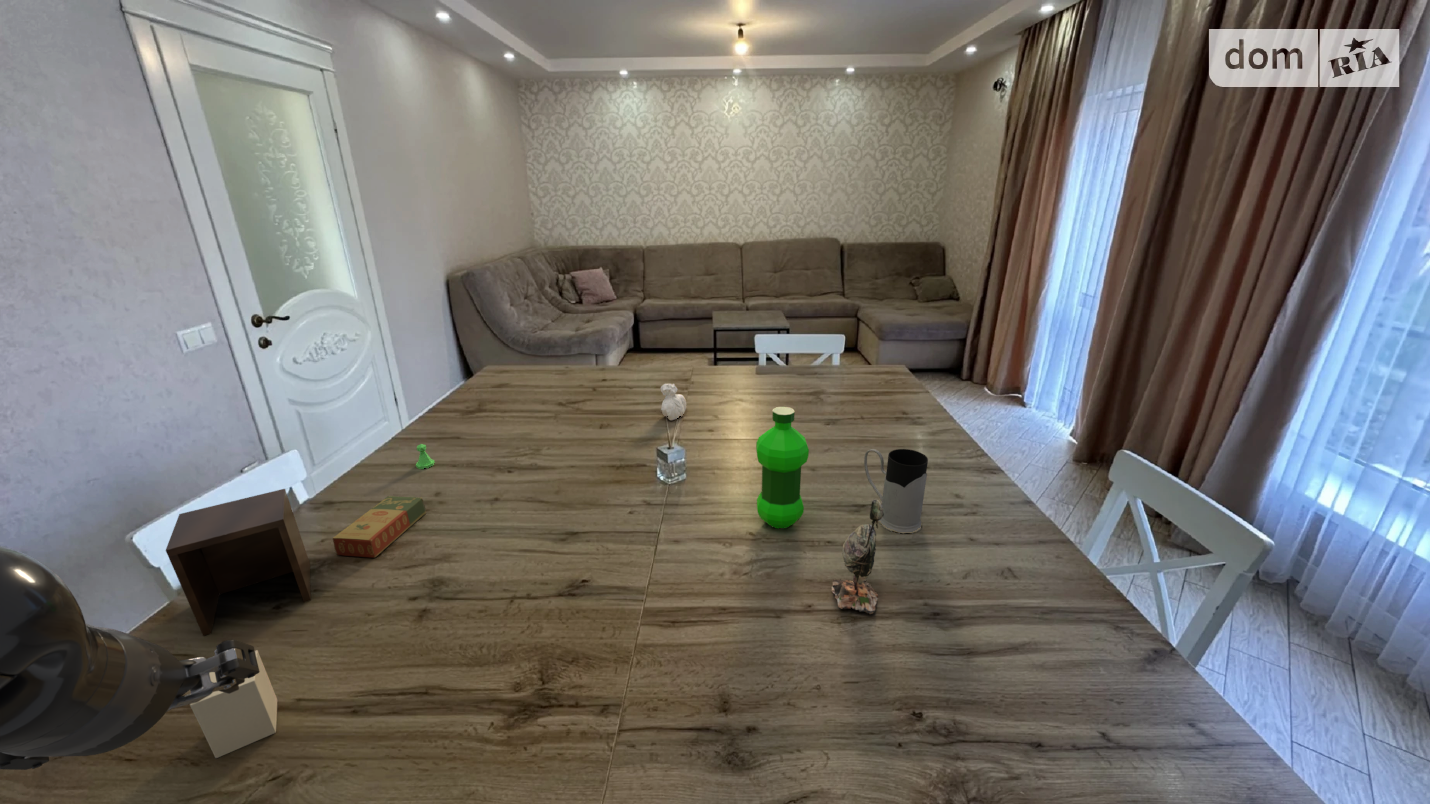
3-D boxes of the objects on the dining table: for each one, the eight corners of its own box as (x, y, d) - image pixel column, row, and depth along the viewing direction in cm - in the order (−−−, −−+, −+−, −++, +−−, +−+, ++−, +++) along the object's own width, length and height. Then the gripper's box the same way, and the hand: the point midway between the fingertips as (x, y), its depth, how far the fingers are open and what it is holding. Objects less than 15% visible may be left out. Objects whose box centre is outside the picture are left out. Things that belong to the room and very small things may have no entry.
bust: (681, 415, 175) (661, 386, 175) (698, 404, 171) (677, 374, 171) (663, 429, 165) (642, 398, 165) (680, 418, 161) (658, 386, 161)
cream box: (215, 758, 68) (189, 705, 64) (220, 723, 72) (197, 671, 69) (276, 732, 71) (254, 680, 68) (277, 700, 75) (257, 649, 72)
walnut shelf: (203, 636, 86) (165, 550, 81) (212, 593, 96) (179, 513, 90) (310, 600, 94) (283, 519, 88) (310, 564, 103) (285, 488, 97)
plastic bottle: (799, 539, 109) (806, 423, 100) (748, 530, 112) (750, 417, 103) (808, 513, 118) (815, 404, 109) (760, 505, 121) (763, 399, 112)
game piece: (427, 469, 138) (423, 448, 136) (412, 468, 138) (407, 447, 136) (438, 462, 142) (434, 440, 140) (423, 460, 142) (418, 439, 140)
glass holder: (906, 539, 109) (915, 471, 103) (848, 509, 119) (853, 447, 114) (930, 523, 114) (940, 458, 108) (872, 496, 124) (879, 435, 119)
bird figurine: (883, 578, 98) (895, 479, 91) (874, 621, 88) (887, 514, 81) (837, 567, 101) (845, 470, 94) (823, 608, 91) (832, 503, 84)
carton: (336, 556, 105) (330, 537, 104) (391, 511, 120) (387, 493, 119) (376, 558, 104) (370, 539, 103) (427, 512, 119) (423, 495, 118)
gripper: (208, 593, 43) (260, 629, 55) (-86, 694, 35) (53, 708, 47) (229, 688, 40) (278, 703, 53) (-80, 819, 32) (64, 800, 45)
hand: (172, 705), depth 50 cm, fingers open, 8 cm apart
